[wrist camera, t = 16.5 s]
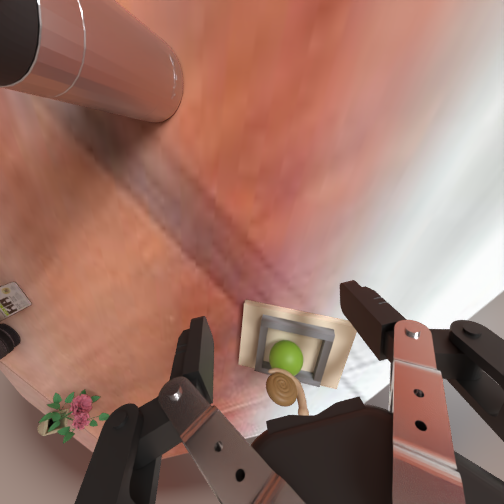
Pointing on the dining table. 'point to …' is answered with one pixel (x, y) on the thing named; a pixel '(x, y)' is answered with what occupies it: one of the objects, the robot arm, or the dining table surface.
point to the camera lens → (7, 339)
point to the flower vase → (59, 419)
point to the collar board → (296, 341)
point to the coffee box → (12, 300)
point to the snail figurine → (286, 375)
